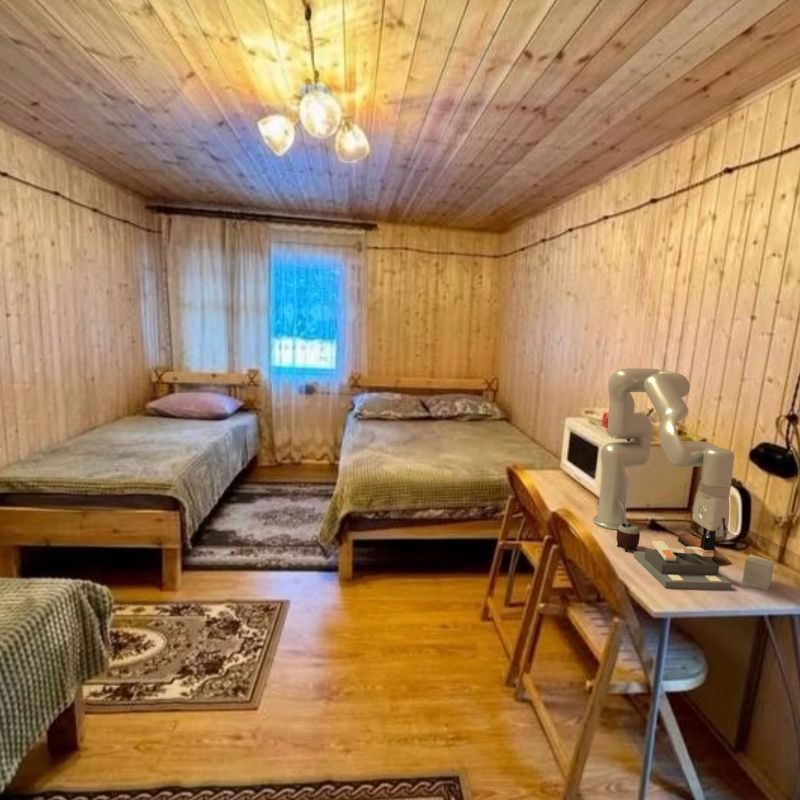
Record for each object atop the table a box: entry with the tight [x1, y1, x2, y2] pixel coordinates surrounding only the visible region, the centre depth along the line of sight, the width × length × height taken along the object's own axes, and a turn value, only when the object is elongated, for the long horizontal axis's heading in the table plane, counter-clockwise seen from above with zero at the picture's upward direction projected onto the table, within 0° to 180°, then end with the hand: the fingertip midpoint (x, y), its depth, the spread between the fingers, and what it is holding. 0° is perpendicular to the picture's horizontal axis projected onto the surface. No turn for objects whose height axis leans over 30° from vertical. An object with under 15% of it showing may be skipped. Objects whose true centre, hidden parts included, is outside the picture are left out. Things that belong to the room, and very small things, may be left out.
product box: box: [742, 554, 775, 592], centre depth 147 cm, size 6×6×7 cm
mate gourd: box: [616, 500, 641, 553], centre depth 167 cm, size 8×8×15 cm
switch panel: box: [633, 548, 732, 590], centre depth 152 cm, size 19×19×5 cm
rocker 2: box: [686, 546, 713, 557], centre depth 151 cm, size 8×3×2 cm, turn 0°
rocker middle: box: [669, 548, 695, 556], centre depth 151 cm, size 8×3×2 cm, turn 0°
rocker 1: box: [652, 540, 676, 561], centre depth 151 cm, size 8×3×2 cm, turn 1°
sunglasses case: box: [677, 532, 734, 566], centre depth 167 cm, size 18×7×7 cm
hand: (707, 548), depth 148 cm, fingers closed
